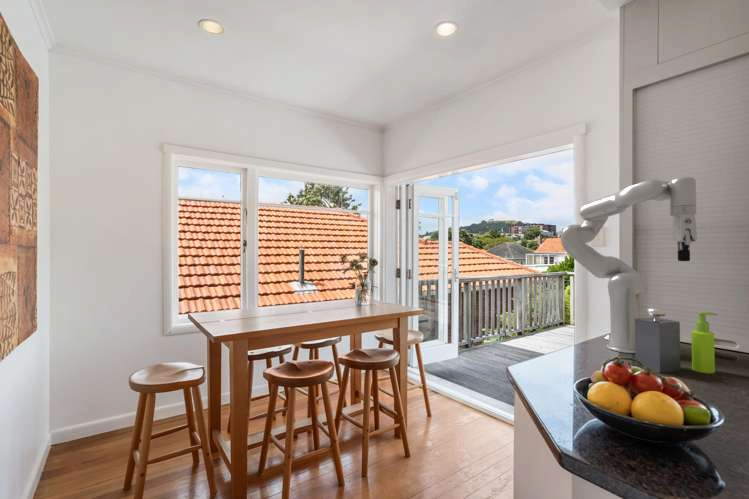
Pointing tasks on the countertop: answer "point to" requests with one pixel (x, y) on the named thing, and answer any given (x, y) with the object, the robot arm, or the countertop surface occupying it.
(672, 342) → the block
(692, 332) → the soap dispenser
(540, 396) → the countertop surface
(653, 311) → the plunger
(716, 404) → the countertop surface
